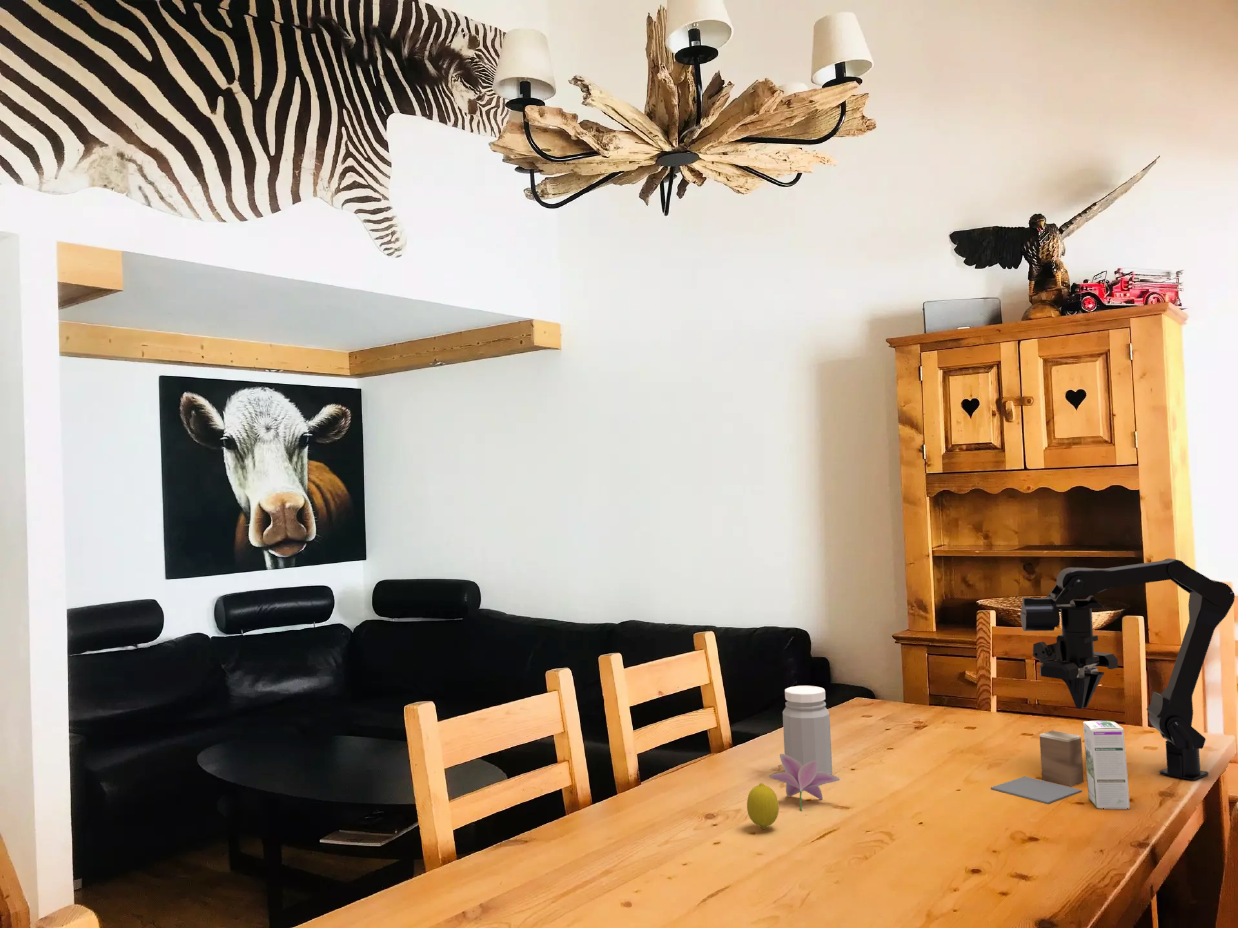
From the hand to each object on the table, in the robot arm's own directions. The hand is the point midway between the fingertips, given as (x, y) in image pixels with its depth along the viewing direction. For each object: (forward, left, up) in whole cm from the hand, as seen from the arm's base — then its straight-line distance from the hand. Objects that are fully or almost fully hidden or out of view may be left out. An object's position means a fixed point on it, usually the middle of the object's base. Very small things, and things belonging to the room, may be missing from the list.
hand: (1081, 707), depth 195 cm
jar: (+42, -35, -13) cm, 57 cm away
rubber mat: (+17, 0, -13) cm, 21 cm away
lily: (+55, -23, -13) cm, 62 cm away
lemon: (+70, -18, -13) cm, 74 cm away
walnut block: (+8, 0, -13) cm, 15 cm away
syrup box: (+15, +13, -13) cm, 24 cm away
